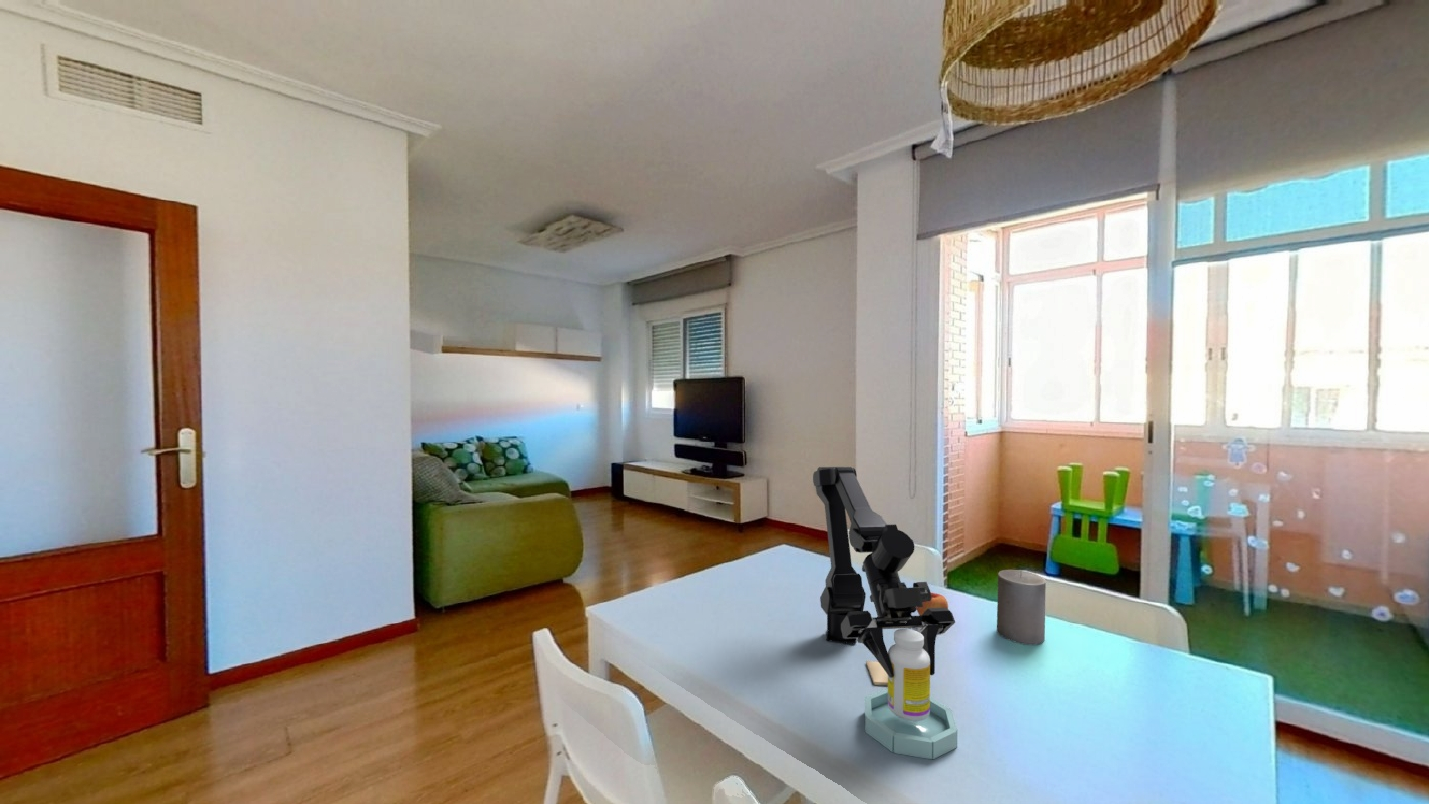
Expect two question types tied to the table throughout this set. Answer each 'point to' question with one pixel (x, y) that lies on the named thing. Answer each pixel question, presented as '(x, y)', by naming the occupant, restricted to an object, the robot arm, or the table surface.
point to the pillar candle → (1021, 606)
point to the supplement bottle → (909, 676)
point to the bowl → (910, 728)
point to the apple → (933, 603)
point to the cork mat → (877, 673)
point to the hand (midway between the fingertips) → (912, 675)
